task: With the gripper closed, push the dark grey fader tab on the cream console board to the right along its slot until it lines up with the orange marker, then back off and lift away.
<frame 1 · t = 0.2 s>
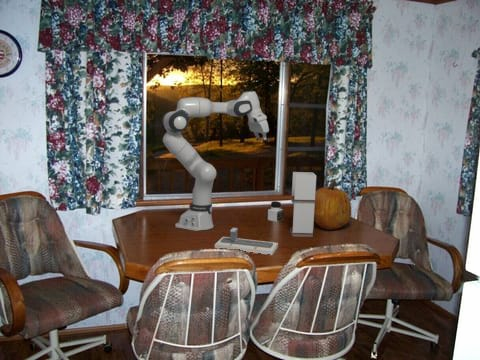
hand: (261, 139, 273), 52 cm above the table, tool tilted 20°, fingers open, 8 cm apart
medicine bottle: (275, 220, 287), on the table
light grey rectangular tower: (301, 234, 259), on the table
pumpkin: (328, 227, 274), on the table
console: (246, 247, 232), on the table
fader tab: (233, 235, 233), point 6 cm above the table, slide at 0.0 cm
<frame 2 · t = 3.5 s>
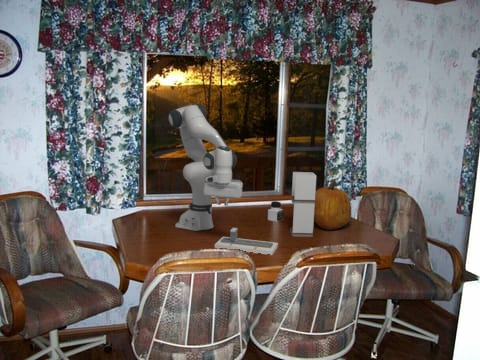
hand: (222, 205, 232), 21 cm above the table, tool pointing down, fingers closed
nothing on the table moved.
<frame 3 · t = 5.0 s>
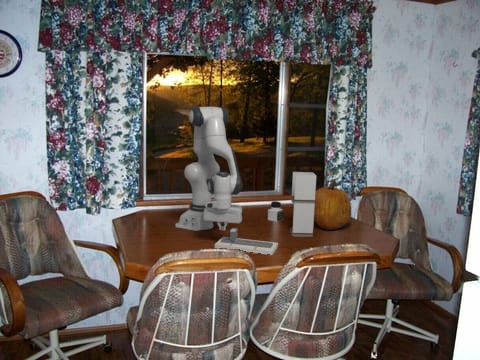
hand: (222, 230, 233), 8 cm above the table, tool pointing down, fingers closed
nothing on the table moved.
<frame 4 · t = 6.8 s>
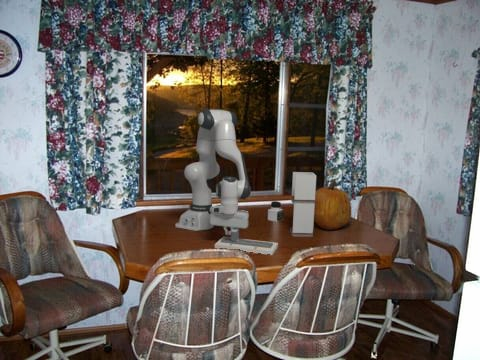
hand: (228, 234, 233), 6 cm above the table, tool pointing down, fingers closed
fader tab: (235, 235, 232), point 6 cm above the table, slide at 0.7 cm, touching gripper
everything else where it was.
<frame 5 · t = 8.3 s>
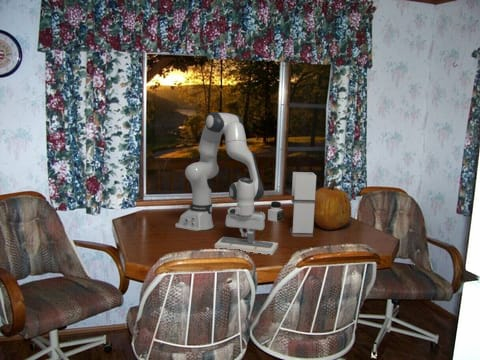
hand: (244, 236, 231), 6 cm above the table, tool pointing down, fingers closed
fader tab: (251, 237, 230), point 6 cm above the table, slide at 9.3 cm, touching gripper
everything else where it was.
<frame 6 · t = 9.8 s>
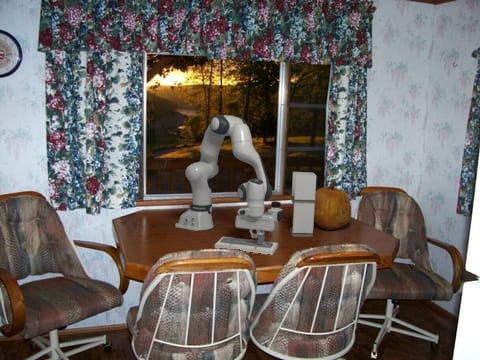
hand: (254, 237, 230), 6 cm above the table, tool pointing down, fingers closed
fader tab: (261, 238, 229), point 6 cm above the table, slide at 14.5 cm, touching gripper
everything else where it was.
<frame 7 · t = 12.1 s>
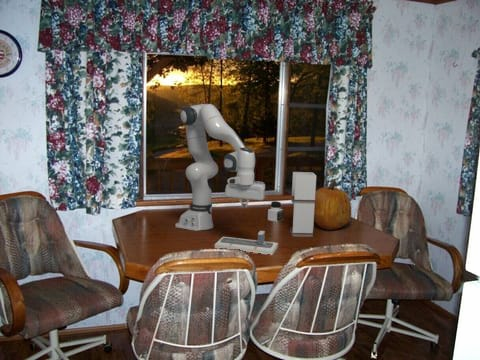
hand: (244, 207, 229), 21 cm above the table, tool pointing down, fingers closed
fader tab: (261, 238, 229), point 6 cm above the table, slide at 14.6 cm
everything else where it was.
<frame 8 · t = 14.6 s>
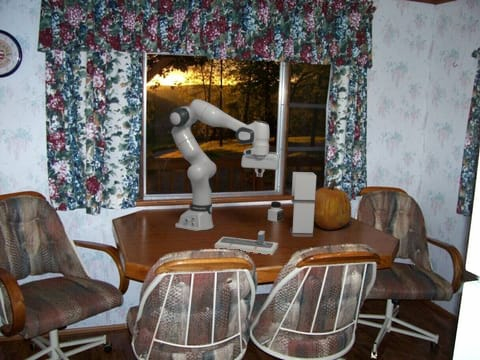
hand: (259, 176, 244), 34 cm above the table, tool pointing down, fingers closed
nothing on the table moved.
at the end: fader tab slide at 14.6 cm; the gripper is holding nothing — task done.
